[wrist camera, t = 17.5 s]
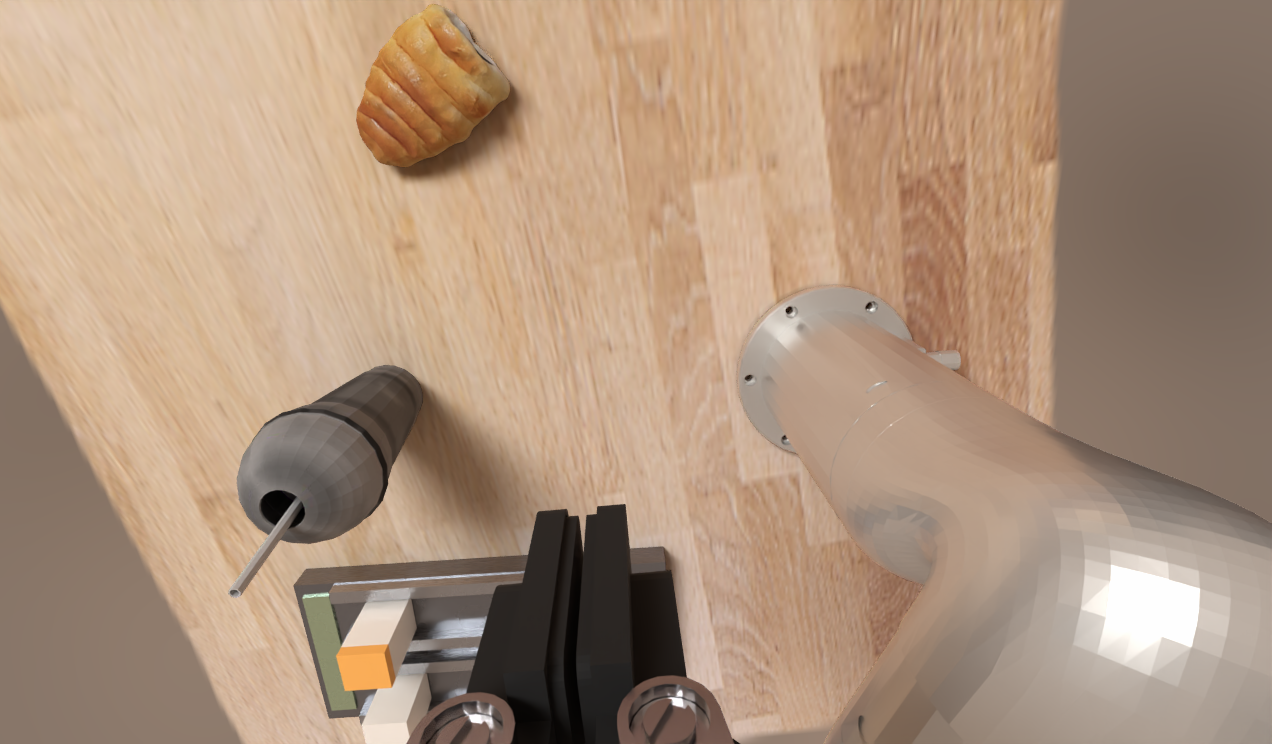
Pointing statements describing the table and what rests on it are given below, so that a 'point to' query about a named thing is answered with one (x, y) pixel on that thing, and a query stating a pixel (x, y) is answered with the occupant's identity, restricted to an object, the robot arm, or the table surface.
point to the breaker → (397, 710)
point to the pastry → (427, 89)
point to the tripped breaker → (377, 645)
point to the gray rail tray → (443, 611)
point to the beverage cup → (326, 462)
